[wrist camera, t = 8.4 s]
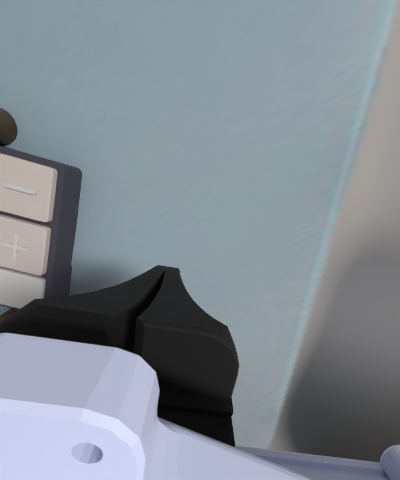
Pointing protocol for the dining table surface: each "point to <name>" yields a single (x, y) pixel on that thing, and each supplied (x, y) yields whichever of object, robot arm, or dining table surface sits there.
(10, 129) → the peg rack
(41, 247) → the calculator
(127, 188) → the dining table surface
